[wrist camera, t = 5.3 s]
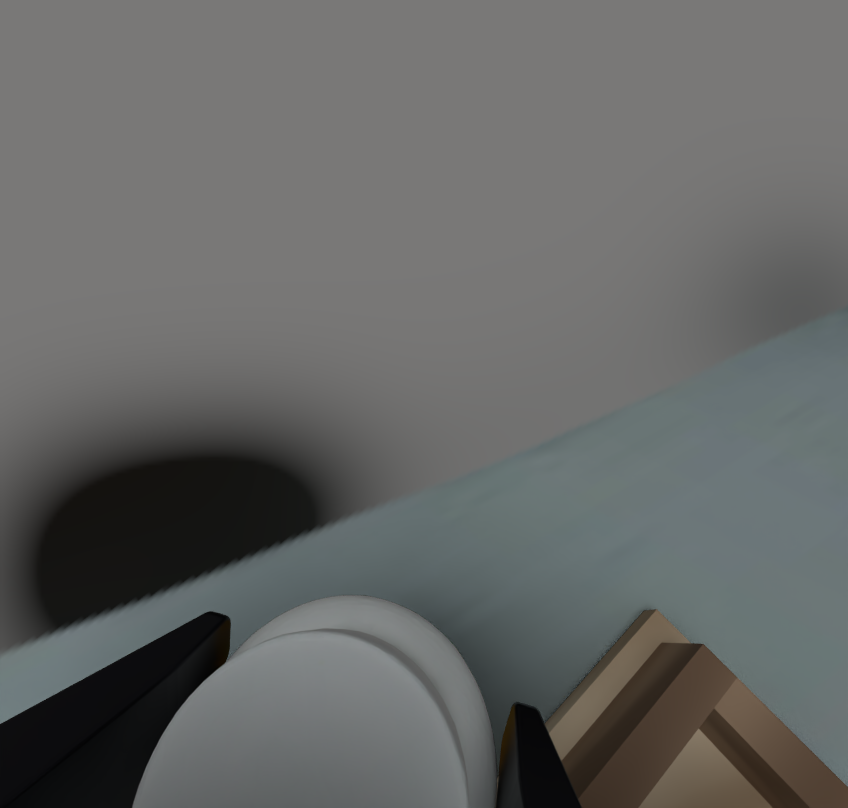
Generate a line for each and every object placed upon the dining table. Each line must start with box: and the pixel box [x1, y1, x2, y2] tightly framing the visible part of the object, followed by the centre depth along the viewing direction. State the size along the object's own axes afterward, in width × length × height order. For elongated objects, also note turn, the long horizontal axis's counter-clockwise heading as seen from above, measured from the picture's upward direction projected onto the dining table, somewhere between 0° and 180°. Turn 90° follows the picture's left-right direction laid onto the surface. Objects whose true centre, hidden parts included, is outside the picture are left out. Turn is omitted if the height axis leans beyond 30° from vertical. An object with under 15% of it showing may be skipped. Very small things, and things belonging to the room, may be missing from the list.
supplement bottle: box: [132, 595, 497, 808], centre depth 10 cm, size 5×5×10 cm
